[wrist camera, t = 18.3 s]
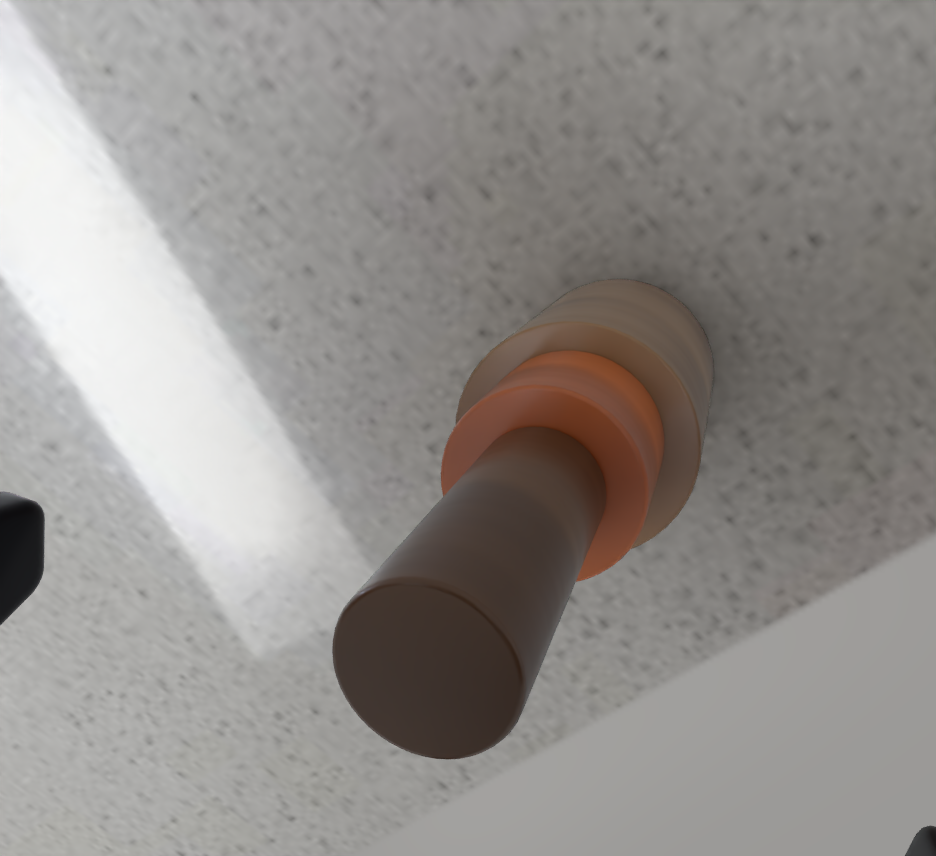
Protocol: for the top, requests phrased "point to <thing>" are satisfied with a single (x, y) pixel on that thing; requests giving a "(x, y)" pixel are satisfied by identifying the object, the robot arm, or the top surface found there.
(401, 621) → the brown peg with discs
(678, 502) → the stand
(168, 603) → the top surface
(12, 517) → the robot arm
